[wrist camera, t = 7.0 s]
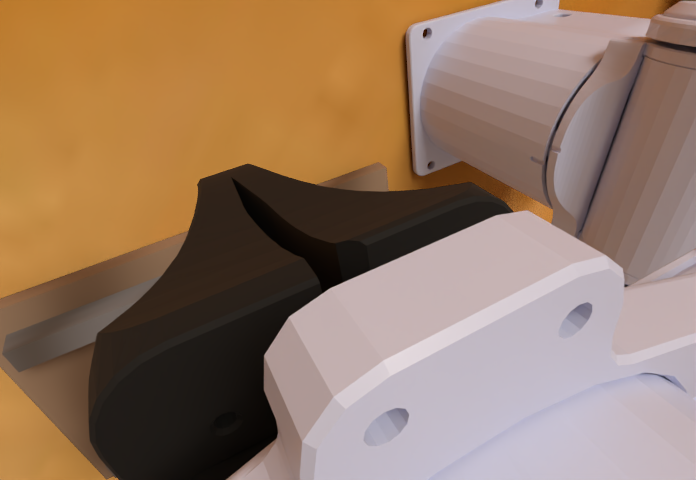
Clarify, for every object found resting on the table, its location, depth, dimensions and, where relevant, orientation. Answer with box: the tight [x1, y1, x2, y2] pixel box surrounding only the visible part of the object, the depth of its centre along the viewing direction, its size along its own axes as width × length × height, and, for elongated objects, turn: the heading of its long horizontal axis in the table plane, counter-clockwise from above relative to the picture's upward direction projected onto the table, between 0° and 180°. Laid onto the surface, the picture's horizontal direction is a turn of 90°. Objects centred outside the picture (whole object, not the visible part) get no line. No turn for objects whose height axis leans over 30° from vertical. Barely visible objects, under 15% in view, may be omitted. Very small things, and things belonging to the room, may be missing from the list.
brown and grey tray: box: [0, 162, 389, 479], centre depth 24 cm, size 20×13×4 cm, turn 100°
